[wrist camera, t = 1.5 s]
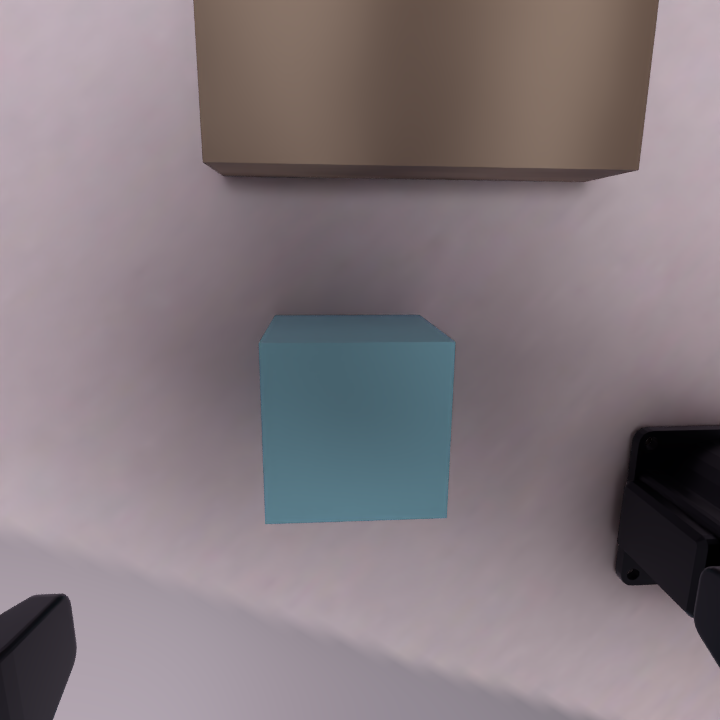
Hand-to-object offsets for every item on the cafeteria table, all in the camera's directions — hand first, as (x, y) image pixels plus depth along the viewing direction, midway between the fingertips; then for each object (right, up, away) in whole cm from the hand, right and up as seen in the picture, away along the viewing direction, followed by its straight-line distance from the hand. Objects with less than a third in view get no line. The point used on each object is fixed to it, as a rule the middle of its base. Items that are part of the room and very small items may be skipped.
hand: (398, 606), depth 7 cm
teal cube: (-1, +3, +11) cm, 12 cm away
